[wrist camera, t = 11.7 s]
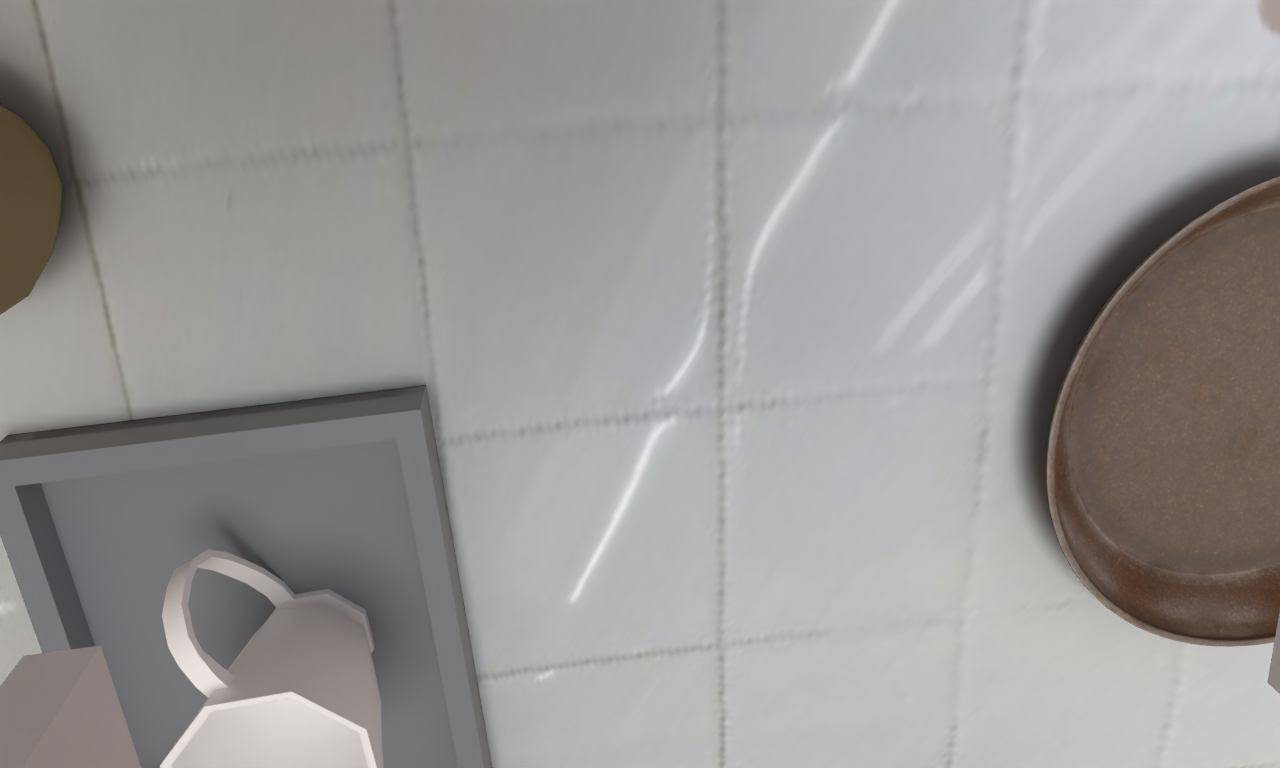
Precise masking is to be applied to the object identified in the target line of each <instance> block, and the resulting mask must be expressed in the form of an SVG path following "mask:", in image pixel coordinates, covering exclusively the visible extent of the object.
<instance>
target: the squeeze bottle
mask: <svg viewBox="0 0 1280 768" xmlns="http://www.w3.org/2000/svg"><path fill="white" fill-rule="evenodd" d="M61 202H62V182H61V179H60V176H59V174H58V171H57V168H56V166H55V163H54V160H53V158H52V155H51V152H50V150H49V148H48V147H47V146H46V145H45V144H44V142H43V141H42V140H41V139H40V138H39V137H38V135H37V134H36V133H35V132H34V131H33V130H32V128H31V127H30V126H29V125H28V124H27V123H26V121H25V120H24V119H23V118H21V117H19V116H18V115H16V114H14V113H13V112H11V111H9V110H8V109H6V108H4V107H3V106H1V105H0V314H2V313H3V312H5V311H6V310H8V309H9V308H11V307H12V306H14V305H15V304H17V303H18V302H20V301H21V300H23V299H24V298H25V297H27V296H28V295H29V294H30V292H31V290H32V289H33V287H34V285H35V283H36V281H37V280H38V278H39V276H40V274H41V272H42V271H43V269H44V267H45V265H46V263H47V261H48V260H49V258H50V256H51V254H52V251H53V247H54V243H55V239H56V235H57V231H58V227H59V223H60V219H61Z"/></svg>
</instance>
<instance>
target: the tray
mask: <svg viewBox="0 0 1280 768" xmlns="http://www.w3.org/2000/svg"><path fill="white" fill-rule="evenodd" d="M0 536H1V538H2V541H3V544H4V547H5V549H6V552H7V555H8V558H9V561H10V563H11V566H12V569H13V572H14V575H15V577H16V580H17V583H18V586H19V589H20V591H21V594H22V597H23V600H24V602H25V605H26V608H27V611H28V614H29V616H30V619H31V622H32V625H33V628H34V630H35V633H36V636H37V639H38V642H39V644H40V647H41V650H42V653H49V652H57V651H64V650H71V649H79V648H86V647H93V646H101V648H102V651H103V654H104V657H105V660H106V663H107V666H108V669H109V672H110V675H111V678H112V681H113V684H114V687H115V690H116V693H117V696H118V699H119V702H120V705H121V708H122V711H123V714H124V717H125V720H126V723H127V726H128V729H129V732H130V735H131V738H132V741H133V744H134V747H135V750H136V753H137V756H138V759H139V762H140V765H141V768H160V765H161V763H162V762H163V761H164V759H165V758H166V756H167V755H168V753H169V752H170V750H171V749H172V748H173V746H174V745H175V743H176V742H177V740H178V739H179V738H180V736H181V735H182V734H183V732H184V731H185V729H186V728H187V727H188V725H189V724H190V723H191V721H192V720H193V718H194V717H195V716H196V714H197V713H198V711H199V710H200V708H201V707H202V706H203V704H204V703H205V701H206V700H207V698H208V697H207V696H205V695H204V694H203V693H202V692H201V691H200V690H198V689H197V688H196V687H195V686H194V684H193V683H192V682H191V681H190V680H189V678H188V677H187V676H186V675H185V673H184V672H183V671H182V670H181V669H180V667H179V666H178V664H177V662H176V661H175V659H174V657H173V655H172V653H171V652H170V650H169V648H168V644H167V639H166V634H165V629H164V624H163V619H162V612H163V606H164V600H165V595H166V589H167V586H168V584H169V582H170V579H171V577H172V575H173V572H174V570H175V569H176V568H178V567H179V566H181V565H183V564H184V563H186V562H187V561H189V560H191V559H192V558H194V557H196V556H197V555H199V554H201V553H203V552H204V551H206V550H215V551H223V552H228V553H230V554H233V555H235V556H238V557H240V558H243V559H245V560H247V561H249V562H252V563H254V564H256V565H258V566H260V567H262V568H264V569H266V570H267V571H269V572H270V573H272V574H273V575H275V576H276V577H278V578H279V579H281V580H282V581H284V582H285V583H286V585H287V586H288V587H289V588H290V589H291V590H292V591H293V593H294V594H300V593H306V592H312V591H318V590H324V589H330V590H331V591H333V592H335V593H337V594H339V595H340V596H342V597H344V598H346V599H348V600H350V601H351V602H353V603H355V604H357V605H359V606H360V607H362V608H364V609H366V612H367V616H368V620H369V624H370V628H371V632H372V635H373V639H374V643H375V647H374V651H373V652H372V653H371V656H372V659H373V663H374V668H375V673H376V678H377V683H378V689H379V694H380V699H381V728H382V752H383V768H492V764H491V759H490V753H489V747H488V741H487V736H486V730H485V724H484V718H483V713H482V707H481V701H480V695H479V689H478V684H477V678H476V672H475V666H474V661H473V655H472V649H471V643H470V638H469V632H468V626H467V620H466V614H465V609H464V603H463V597H462V591H461V586H460V580H459V574H458V568H457V563H456V557H455V551H454V545H453V540H452V534H451V528H450V522H449V516H448V511H447V505H446V499H445V493H444V488H443V482H442V476H441V470H440V465H439V459H438V453H437V447H436V441H435V436H434V430H433V424H432V418H431V413H430V407H429V401H428V395H427V390H426V385H425V386H417V387H409V388H400V389H392V390H384V391H375V392H367V393H359V394H350V395H342V396H333V397H325V398H317V399H308V400H300V401H292V402H283V403H275V404H267V405H258V406H250V407H242V408H233V409H225V410H217V411H208V412H200V413H191V414H183V415H175V416H166V417H158V418H150V419H141V420H133V421H125V422H116V423H108V424H100V425H91V426H83V427H74V428H66V429H58V430H49V431H41V432H33V433H24V434H16V435H8V436H7V437H5V438H4V439H3V440H2V441H1V442H0ZM188 607H189V612H190V616H191V621H192V626H193V630H194V635H195V637H196V639H197V641H198V643H199V644H200V646H201V648H202V650H203V651H204V652H206V653H207V654H208V655H209V656H210V657H211V658H213V659H214V660H215V661H216V662H217V663H218V664H220V665H221V666H222V667H223V668H224V669H226V670H228V668H229V667H230V666H231V664H232V663H233V662H234V660H235V659H236V658H237V656H238V655H239V654H240V652H241V651H242V650H243V648H244V647H245V646H246V644H247V643H248V642H249V640H250V639H251V638H252V636H253V635H254V634H255V633H256V632H257V631H258V630H259V629H260V628H261V627H262V626H263V624H264V623H265V622H266V620H267V619H268V618H269V616H270V615H271V614H272V612H273V611H274V610H275V608H276V607H275V605H274V604H273V603H272V602H271V601H270V600H269V598H268V597H267V596H265V595H264V594H262V593H261V592H259V591H258V590H256V589H254V588H253V587H251V586H250V585H248V584H246V583H244V582H242V581H239V580H237V579H234V578H232V577H230V576H227V575H224V574H221V573H219V572H216V571H213V570H208V569H203V568H197V570H196V573H195V575H194V578H193V580H192V584H191V590H190V597H189V603H188Z"/></svg>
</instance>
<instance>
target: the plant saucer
mask: <svg viewBox="0 0 1280 768" xmlns="http://www.w3.org/2000/svg"><path fill="white" fill-rule="evenodd" d="M1047 492H1048V501H1049V508H1050V513H1051V518H1052V522H1053V525H1054V529H1055V532H1056V536H1057V538H1058V541H1059V543H1060V546H1061V548H1062V550H1063V553H1064V555H1065V557H1066V558H1067V560H1068V562H1069V564H1070V566H1071V567H1072V569H1073V570H1074V572H1075V573H1076V575H1077V576H1078V578H1079V579H1080V580H1081V582H1082V583H1083V584H1084V586H1085V587H1086V588H1087V589H1088V590H1089V591H1090V592H1091V593H1092V594H1093V595H1094V596H1095V597H1096V598H1097V599H1098V600H1099V601H1100V602H1101V603H1102V604H1103V605H1105V606H1106V607H1107V608H1108V609H1110V610H1111V611H1113V612H1114V613H1115V614H1117V615H1118V616H1120V617H1121V618H1123V619H1124V620H1126V621H1127V622H1129V623H1131V624H1133V625H1135V626H1136V627H1138V628H1141V629H1143V630H1146V631H1148V632H1150V633H1153V634H1156V635H1159V636H1161V637H1164V638H1168V639H1172V640H1176V641H1181V642H1185V643H1190V644H1198V645H1207V646H1248V645H1258V644H1266V643H1272V642H1275V636H1276V630H1277V624H1278V618H1279V613H1280V176H1279V177H1276V178H1273V179H1271V180H1268V181H1265V182H1263V183H1261V184H1258V185H1256V186H1253V187H1251V188H1249V189H1247V190H1245V191H1243V192H1241V193H1238V194H1236V195H1234V196H1232V197H1231V198H1229V199H1227V200H1225V201H1223V202H1221V203H1220V204H1218V205H1216V206H1215V207H1213V208H1211V209H1210V210H1208V211H1206V212H1205V213H1203V214H1201V215H1200V216H1198V217H1196V218H1195V219H1193V220H1192V221H1190V222H1189V223H1188V224H1186V225H1185V226H1183V227H1182V228H1181V229H1179V230H1178V231H1177V232H1175V233H1174V234H1173V235H1172V236H1171V237H1169V238H1168V239H1167V240H1165V241H1164V242H1163V243H1162V244H1161V245H1159V246H1158V247H1157V248H1156V249H1155V250H1154V251H1153V252H1152V253H1150V254H1149V255H1148V256H1147V257H1146V258H1145V259H1144V260H1143V261H1142V262H1141V263H1140V264H1139V265H1138V266H1137V267H1136V268H1135V269H1134V270H1133V271H1132V272H1131V273H1130V274H1129V275H1128V276H1127V277H1126V278H1125V280H1124V281H1123V282H1122V283H1121V284H1120V285H1119V286H1118V288H1117V289H1116V290H1115V291H1114V292H1113V294H1112V295H1111V296H1110V298H1109V299H1108V300H1107V301H1106V303H1105V304H1104V305H1103V307H1102V308H1101V309H1100V311H1099V313H1098V314H1097V316H1096V317H1095V319H1094V320H1093V322H1092V323H1091V325H1090V326H1089V328H1088V330H1087V331H1086V333H1085V335H1084V336H1083V338H1082V340H1081V342H1080V344H1079V346H1078V347H1077V349H1076V352H1075V354H1074V356H1073V358H1072V360H1071V362H1070V364H1069V367H1068V369H1067V371H1066V374H1065V376H1064V379H1063V381H1062V384H1061V387H1060V390H1059V392H1058V396H1057V400H1056V403H1055V407H1054V411H1053V415H1052V420H1051V425H1050V431H1049V437H1048V446H1047Z"/></svg>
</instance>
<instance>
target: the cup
mask: <svg viewBox="0 0 1280 768" xmlns="http://www.w3.org/2000/svg"><path fill="white" fill-rule="evenodd" d="M197 568H203V569H208V570H213V571H216V572H219V573H221V574H224V575H227V576H230V577H232V578H234V579H237V580H239V581H242V582H244V583H246V584H248V585H250V586H251V587H253V588H254V589H256V590H258V591H259V592H261V593H262V594H264V595H265V596H267V597H268V598H269V600H270V601H271V602H272V603H273V604H274V605H275V607H276V608H275V610H274V611H273V612H272V614H271V615H270V616H269V618H268V619H267V620H266V622H265V623H264V624H263V626H262V627H261V628H260V629H259V630H258V631H257V632H256V633H255V634H254V635H253V636H252V638H251V639H250V640H249V642H248V643H247V644H246V646H245V647H244V648H243V650H242V651H241V652H240V654H239V655H238V656H237V658H236V659H235V660H234V662H233V663H232V664H231V666H230V667H229V668H228V670H226V669H224V668H223V667H222V666H221V665H220V664H218V663H217V662H216V661H215V660H214V659H213V658H211V657H210V656H209V655H208V654H207V653H206V652H204V651H203V650H202V648H201V646H200V644H199V643H198V641H197V639H196V637H195V635H194V630H193V626H192V621H191V616H190V612H189V607H188V603H189V597H190V590H191V584H192V580H193V578H194V575H195V573H196V570H197ZM162 619H163V624H164V629H165V634H166V639H167V644H168V648H169V650H170V652H171V653H172V655H173V657H174V659H175V661H176V662H177V664H178V666H179V667H180V669H181V670H182V671H183V672H184V673H185V675H186V676H187V677H188V678H189V680H190V681H191V682H192V683H193V684H194V686H195V687H196V688H197V689H198V690H200V691H201V692H202V693H203V694H204V695H205V696H207V697H208V698H207V700H206V701H205V703H204V704H203V706H202V707H201V708H200V710H199V711H198V713H197V714H196V716H195V717H194V718H193V720H192V721H191V723H190V724H189V725H188V727H187V728H186V729H185V731H184V732H183V734H182V735H181V736H180V738H179V739H178V740H177V742H176V743H175V745H174V746H173V748H172V749H171V750H170V752H169V753H168V755H167V756H166V758H165V759H164V761H163V762H162V763H161V765H160V768H383V752H382V728H381V699H380V694H379V689H378V683H377V678H376V673H375V668H374V663H373V659H372V656H371V653H372V652H373V651H374V647H375V643H374V639H373V635H372V632H371V628H370V624H369V620H368V616H367V612H366V609H364V608H362V607H360V606H359V605H357V604H355V603H353V602H351V601H350V600H348V599H346V598H344V597H342V596H340V595H339V594H337V593H335V592H333V591H331V590H330V589H324V590H318V591H312V592H306V593H300V594H294V593H293V591H292V590H291V589H290V588H289V587H288V586H287V585H286V583H285V582H284V581H282V580H281V579H279V578H278V577H276V576H275V575H273V574H272V573H270V572H269V571H267V570H266V569H264V568H262V567H260V566H258V565H256V564H254V563H252V562H249V561H247V560H245V559H243V558H240V557H238V556H235V555H233V554H230V553H228V552H223V551H215V550H206V551H204V552H203V553H201V554H199V555H197V556H196V557H194V558H192V559H191V560H189V561H187V562H186V563H184V564H183V565H181V566H179V567H178V568H176V569H175V570H174V572H173V575H172V577H171V579H170V582H169V584H168V586H167V589H166V595H165V600H164V606H163V612H162Z"/></svg>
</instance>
